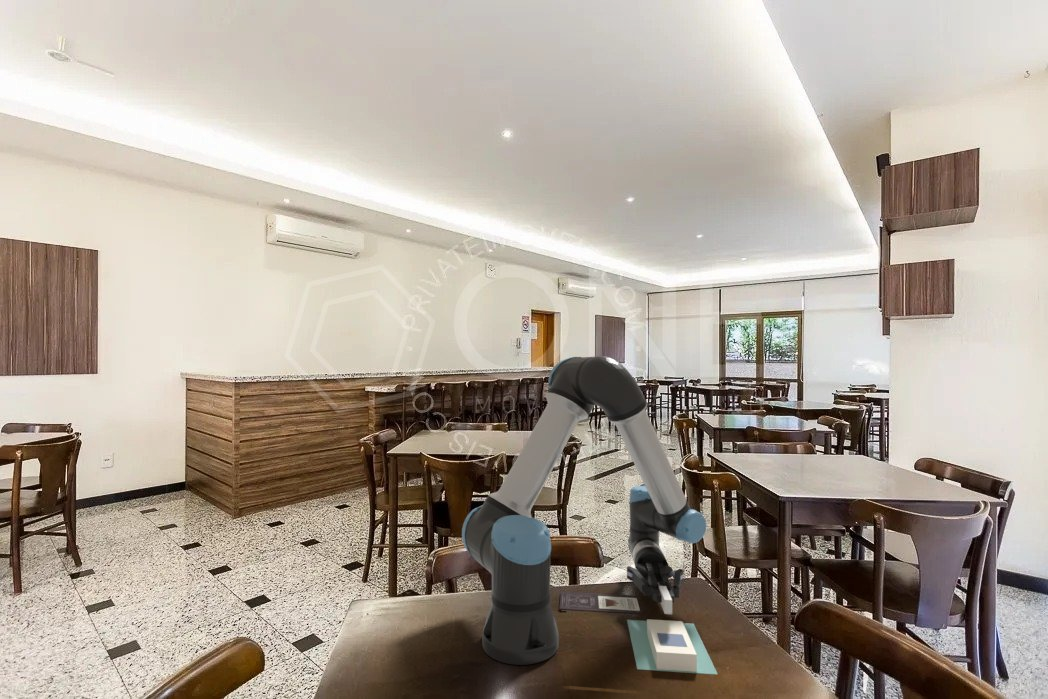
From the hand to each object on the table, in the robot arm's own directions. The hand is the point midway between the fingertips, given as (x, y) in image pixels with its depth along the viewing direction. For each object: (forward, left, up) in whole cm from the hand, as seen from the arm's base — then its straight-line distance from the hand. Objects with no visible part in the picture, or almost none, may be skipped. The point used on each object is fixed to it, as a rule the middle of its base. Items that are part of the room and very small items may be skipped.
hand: (668, 606), depth 96 cm
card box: (-1, +4, -6) cm, 7 cm away
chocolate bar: (-17, +14, -9) cm, 23 cm away
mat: (0, +1, -8) cm, 8 cm away
